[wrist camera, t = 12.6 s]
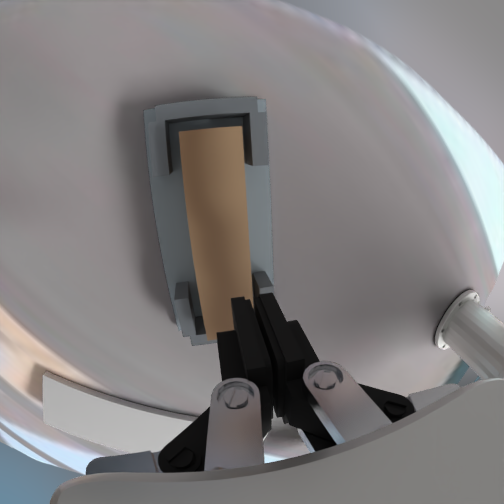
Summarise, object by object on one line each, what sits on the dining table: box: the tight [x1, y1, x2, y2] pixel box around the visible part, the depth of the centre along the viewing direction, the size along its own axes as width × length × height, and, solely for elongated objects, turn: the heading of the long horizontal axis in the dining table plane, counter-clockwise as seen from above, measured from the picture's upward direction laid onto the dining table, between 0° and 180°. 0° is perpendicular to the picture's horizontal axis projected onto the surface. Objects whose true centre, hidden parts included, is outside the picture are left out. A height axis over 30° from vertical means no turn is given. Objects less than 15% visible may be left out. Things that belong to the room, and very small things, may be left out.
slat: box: [179, 126, 254, 341], centre depth 21 cm, size 4×16×5 cm, turn 3°
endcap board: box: [144, 97, 274, 346], centre depth 22 cm, size 10×21×4 cm, turn 3°
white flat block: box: [43, 371, 269, 453], centre depth 33 cm, size 34×5×10 cm
